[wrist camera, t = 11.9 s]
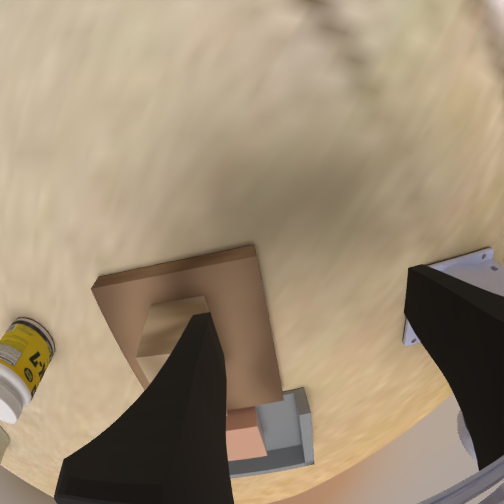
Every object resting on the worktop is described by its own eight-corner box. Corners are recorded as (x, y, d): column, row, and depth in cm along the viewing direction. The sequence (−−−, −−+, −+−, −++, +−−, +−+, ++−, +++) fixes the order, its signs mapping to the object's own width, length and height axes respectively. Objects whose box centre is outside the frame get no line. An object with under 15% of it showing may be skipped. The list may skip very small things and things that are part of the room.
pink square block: (254, 399, 26) (257, 426, 23) (263, 432, 29) (267, 455, 26) (189, 408, 26) (188, 434, 23) (207, 439, 29) (207, 463, 26)
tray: (303, 387, 27) (310, 412, 24) (309, 443, 32) (314, 464, 29) (147, 410, 26) (143, 434, 24) (185, 461, 31) (184, 481, 29)
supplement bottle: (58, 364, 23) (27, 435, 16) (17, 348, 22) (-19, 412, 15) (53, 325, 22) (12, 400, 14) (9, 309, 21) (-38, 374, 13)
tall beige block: (204, 295, 20) (201, 349, 15) (224, 362, 22) (227, 416, 18) (150, 304, 20) (135, 357, 15) (178, 368, 22) (172, 421, 18)
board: (254, 245, 20) (256, 256, 19) (281, 386, 26) (284, 400, 25) (98, 276, 20) (90, 288, 19) (163, 404, 26) (161, 417, 25)
